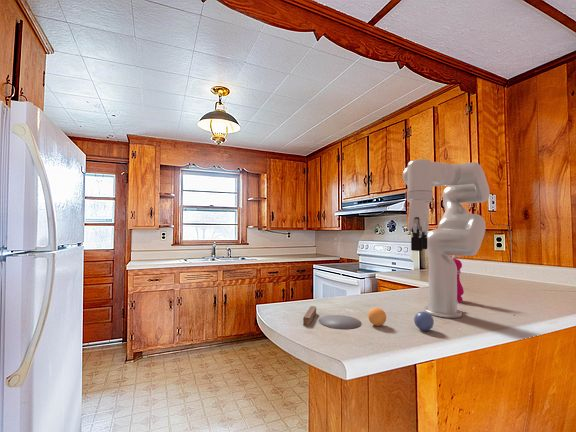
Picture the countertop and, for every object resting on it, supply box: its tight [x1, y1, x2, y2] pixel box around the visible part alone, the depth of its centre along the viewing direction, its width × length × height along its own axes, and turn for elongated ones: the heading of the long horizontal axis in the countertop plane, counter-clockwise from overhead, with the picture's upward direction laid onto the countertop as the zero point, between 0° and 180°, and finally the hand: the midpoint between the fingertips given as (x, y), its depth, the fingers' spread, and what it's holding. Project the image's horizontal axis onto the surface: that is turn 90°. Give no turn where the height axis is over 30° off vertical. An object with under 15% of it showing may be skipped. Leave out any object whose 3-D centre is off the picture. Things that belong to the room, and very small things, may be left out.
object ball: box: [367, 307, 387, 327], centre depth 96 cm, size 6×6×6 cm
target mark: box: [318, 314, 362, 330], centre depth 99 cm, size 14×14×1 cm
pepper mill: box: [451, 255, 465, 303], centre depth 132 cm, size 7×7×20 cm
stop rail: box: [302, 305, 317, 327], centre depth 102 cm, size 2×14×2 cm, turn 166°
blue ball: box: [413, 311, 435, 331], centre depth 93 cm, size 6×6×6 cm
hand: (419, 249), depth 97 cm, fingers open, 9 cm apart
